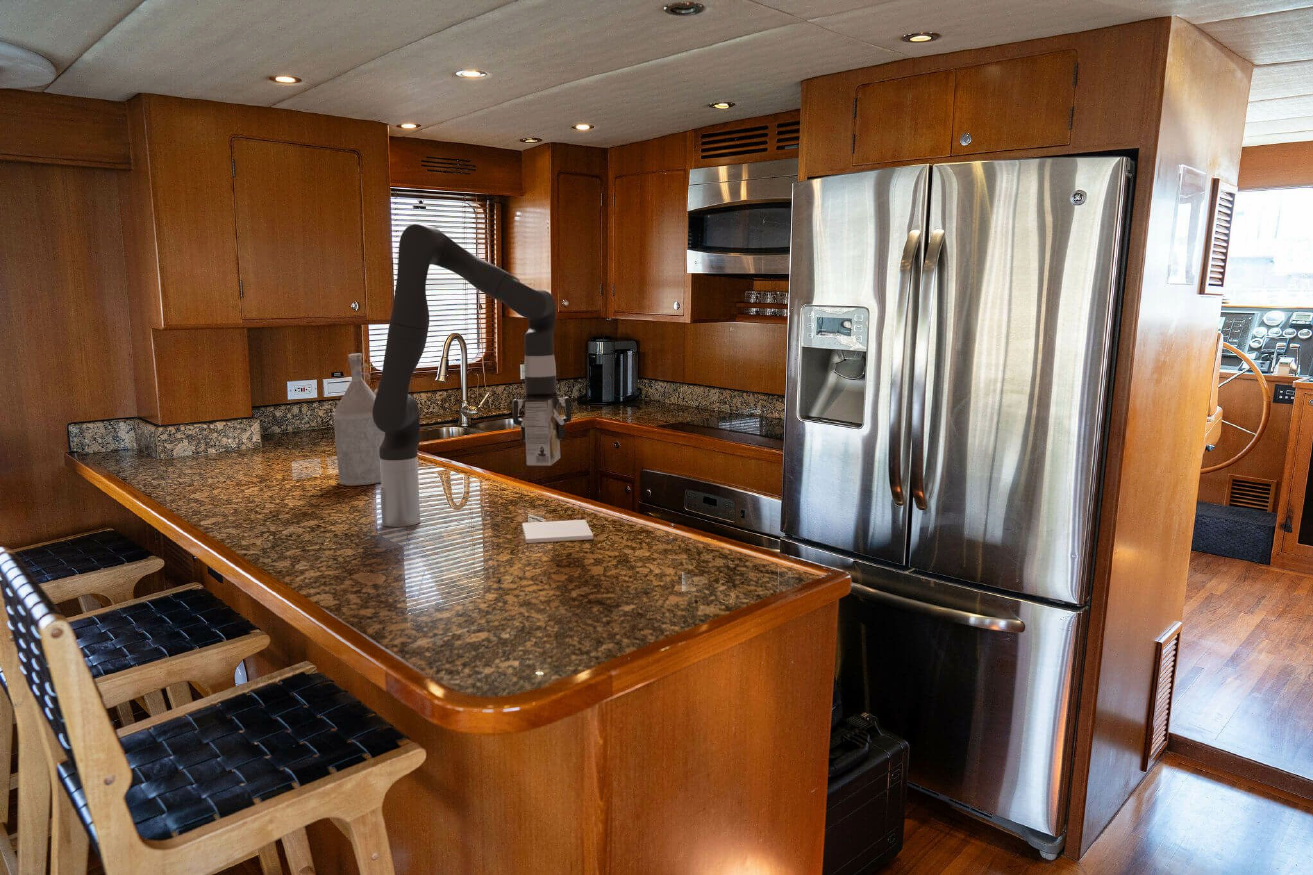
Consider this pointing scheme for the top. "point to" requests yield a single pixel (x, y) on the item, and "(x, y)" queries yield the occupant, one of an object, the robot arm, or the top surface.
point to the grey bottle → (357, 431)
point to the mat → (556, 531)
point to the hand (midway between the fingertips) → (543, 440)
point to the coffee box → (541, 431)
